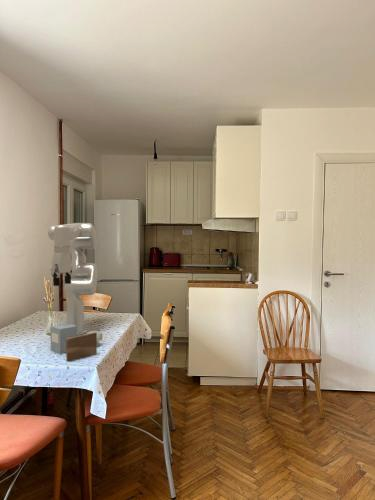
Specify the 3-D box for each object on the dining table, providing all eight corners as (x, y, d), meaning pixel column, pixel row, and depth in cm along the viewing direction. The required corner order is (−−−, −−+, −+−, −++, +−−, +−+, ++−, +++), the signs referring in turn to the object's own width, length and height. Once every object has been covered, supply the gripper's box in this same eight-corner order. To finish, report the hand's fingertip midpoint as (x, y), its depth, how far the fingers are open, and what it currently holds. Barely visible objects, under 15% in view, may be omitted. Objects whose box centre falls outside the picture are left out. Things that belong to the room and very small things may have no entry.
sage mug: (84, 346, 185) (84, 332, 185) (98, 342, 192) (98, 329, 191) (91, 348, 181) (91, 334, 181) (105, 344, 188) (105, 331, 187)
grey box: (50, 350, 178) (50, 326, 177) (67, 346, 184) (67, 323, 184) (59, 354, 172) (59, 329, 171) (77, 350, 178) (77, 325, 178)
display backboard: (66, 360, 162) (65, 338, 162) (94, 353, 173) (94, 332, 173) (67, 361, 161) (67, 339, 161) (96, 353, 172) (96, 332, 172)
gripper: (65, 249, 191) (65, 282, 191) (44, 250, 174) (44, 286, 174) (78, 250, 189) (78, 283, 189) (58, 250, 172) (58, 286, 172)
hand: (62, 284), depth 182 cm, fingers open, 9 cm apart
